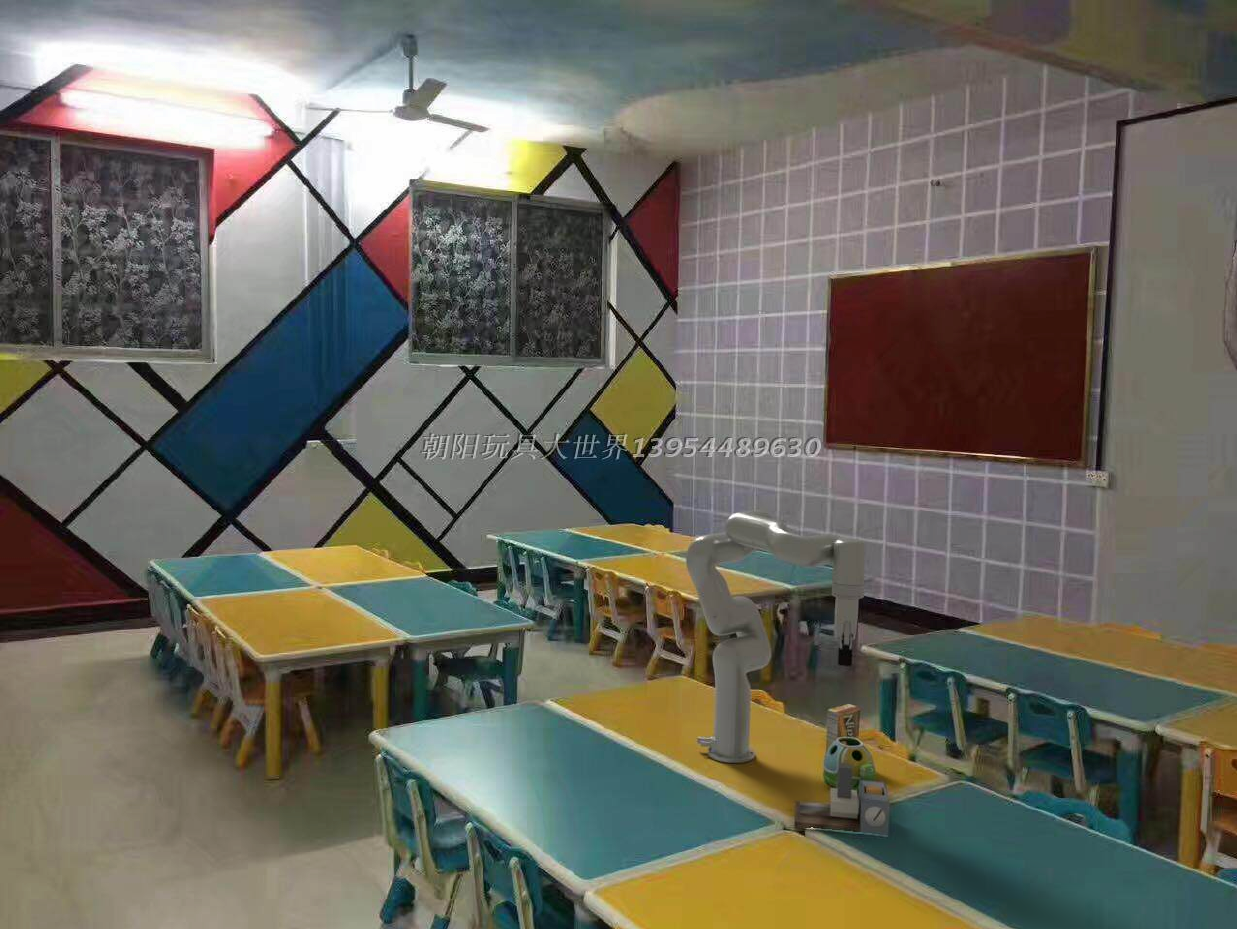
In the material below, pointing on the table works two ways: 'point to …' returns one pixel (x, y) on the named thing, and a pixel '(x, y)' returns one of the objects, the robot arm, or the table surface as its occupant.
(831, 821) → the rail board
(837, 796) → the carriage
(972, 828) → the table surface
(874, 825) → the gauge cabinet
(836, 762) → the turtle holder
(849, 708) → the candy box
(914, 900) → the table surface
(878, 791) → the button
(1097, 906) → the table surface
